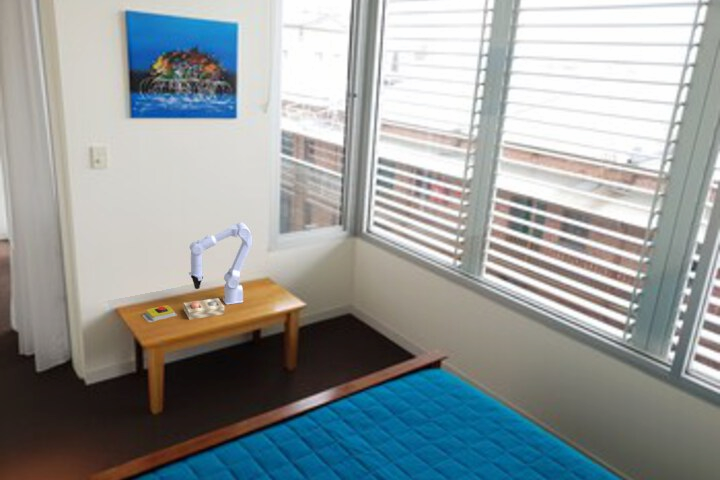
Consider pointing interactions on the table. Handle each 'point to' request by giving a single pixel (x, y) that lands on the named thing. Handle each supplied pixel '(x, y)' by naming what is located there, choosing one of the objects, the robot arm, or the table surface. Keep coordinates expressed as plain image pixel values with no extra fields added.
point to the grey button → (212, 303)
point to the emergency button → (159, 313)
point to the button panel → (204, 309)
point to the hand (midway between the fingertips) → (197, 288)
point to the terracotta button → (194, 305)
